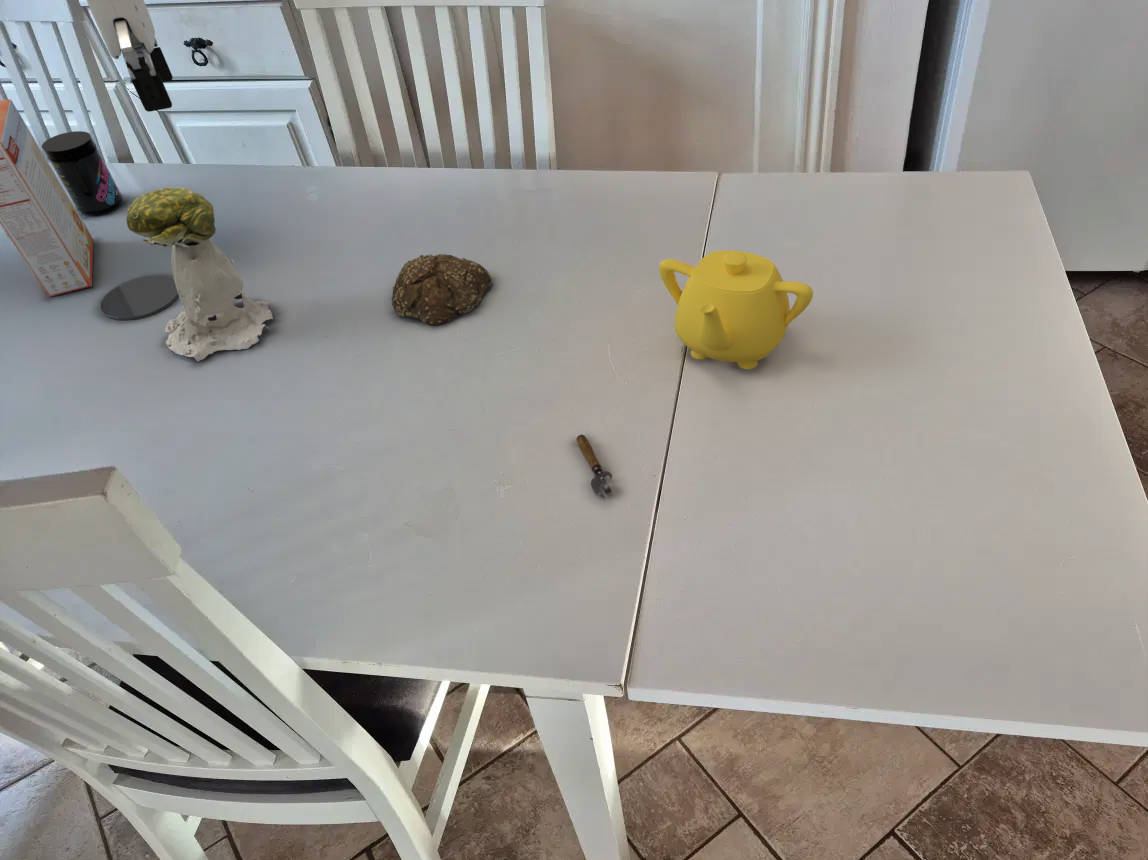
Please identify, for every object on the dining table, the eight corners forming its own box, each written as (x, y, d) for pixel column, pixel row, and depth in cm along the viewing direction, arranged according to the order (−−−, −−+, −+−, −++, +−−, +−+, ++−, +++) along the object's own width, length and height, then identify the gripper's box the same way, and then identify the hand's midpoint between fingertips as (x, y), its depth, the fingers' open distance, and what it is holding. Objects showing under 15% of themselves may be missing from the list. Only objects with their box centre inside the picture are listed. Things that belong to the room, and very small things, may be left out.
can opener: (576, 442, 90) (575, 435, 89) (597, 438, 90) (596, 430, 89) (596, 502, 84) (595, 494, 83) (618, 497, 84) (618, 489, 83)
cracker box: (51, 250, 123) (-39, 105, 107) (95, 240, 124) (13, 96, 109) (45, 299, 113) (-54, 149, 98) (93, 288, 115) (3, 138, 100)
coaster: (129, 328, 108) (128, 326, 108) (86, 305, 112) (85, 303, 112) (196, 290, 113) (194, 288, 113) (152, 270, 118) (151, 267, 117)
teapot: (649, 332, 103) (645, 245, 94) (750, 300, 107) (755, 214, 98) (702, 397, 94) (703, 308, 86) (810, 360, 98) (822, 271, 89)
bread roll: (414, 267, 115) (405, 234, 112) (499, 274, 113) (493, 241, 110) (375, 321, 107) (365, 288, 103) (467, 330, 105) (459, 296, 101)
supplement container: (100, 220, 128) (64, 154, 121) (68, 213, 130) (30, 147, 123) (134, 199, 132) (101, 134, 125) (103, 193, 134) (68, 128, 127)
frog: (166, 318, 109) (93, 185, 96) (267, 291, 112) (210, 159, 99) (171, 369, 102) (93, 232, 88) (279, 338, 105) (219, 202, 92)
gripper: (63, -71, 101) (131, 76, 113) (49, -34, 90) (126, 126, 102) (130, -80, 103) (190, 67, 115) (124, -44, 91) (191, 114, 104)
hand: (160, 94), depth 108 cm, fingers open, 9 cm apart
